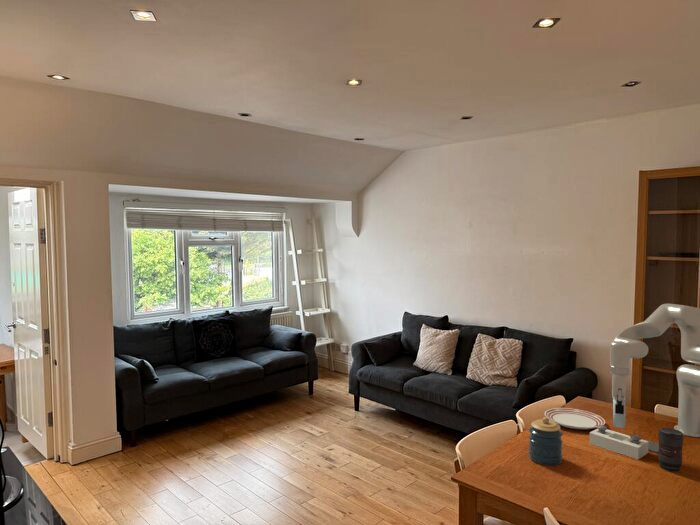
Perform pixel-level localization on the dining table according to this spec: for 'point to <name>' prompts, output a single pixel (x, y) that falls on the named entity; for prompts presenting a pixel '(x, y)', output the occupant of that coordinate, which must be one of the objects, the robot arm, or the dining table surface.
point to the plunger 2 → (635, 439)
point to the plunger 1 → (601, 428)
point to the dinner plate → (574, 418)
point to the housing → (619, 443)
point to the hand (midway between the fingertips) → (619, 411)
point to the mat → (653, 447)
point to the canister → (545, 442)
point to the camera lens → (670, 449)
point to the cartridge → (618, 415)
